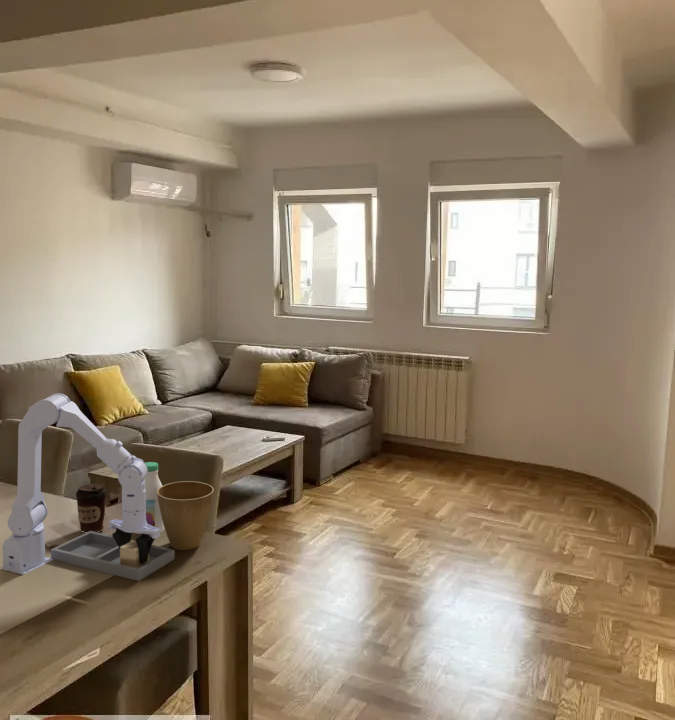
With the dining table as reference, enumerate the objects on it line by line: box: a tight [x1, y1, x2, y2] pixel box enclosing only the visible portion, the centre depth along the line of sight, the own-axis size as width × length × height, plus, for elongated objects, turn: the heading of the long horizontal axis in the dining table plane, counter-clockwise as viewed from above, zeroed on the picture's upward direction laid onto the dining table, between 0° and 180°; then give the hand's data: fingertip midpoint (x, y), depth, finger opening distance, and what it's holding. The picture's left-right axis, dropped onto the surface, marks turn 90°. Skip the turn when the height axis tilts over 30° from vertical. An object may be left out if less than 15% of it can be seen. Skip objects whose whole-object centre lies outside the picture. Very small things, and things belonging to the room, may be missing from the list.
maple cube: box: [120, 539, 149, 569], centre depth 177 cm, size 5×5×5 cm
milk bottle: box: [143, 461, 165, 534], centre depth 198 cm, size 8×8×20 cm
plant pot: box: [157, 480, 215, 551], centre depth 189 cm, size 15×15×16 cm
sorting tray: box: [50, 531, 176, 582], centre depth 180 cm, size 14×28×3 cm, turn 66°
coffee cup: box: [75, 483, 108, 532], centre depth 198 cm, size 9×8×13 cm
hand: (134, 560), depth 177 cm, fingers closed on maple cube, 5 cm apart
